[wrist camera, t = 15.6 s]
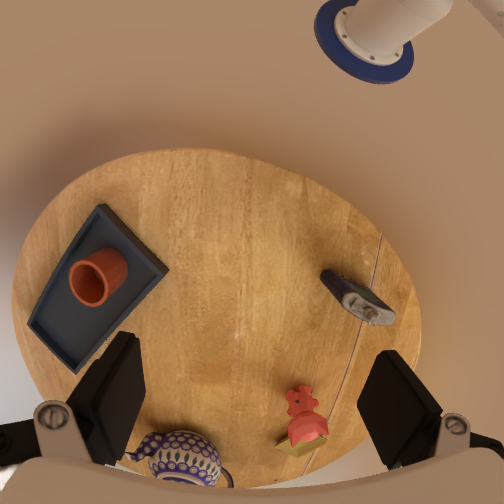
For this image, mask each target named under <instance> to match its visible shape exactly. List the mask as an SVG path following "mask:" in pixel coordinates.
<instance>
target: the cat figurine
mask: <svg viewBox="0 0 504 504" xmlns="http://www.w3.org/2000/svg"><path fill="white" fill-rule="evenodd" d="M298 391H299V393H297V392H296V391H294V390H293V389H291V390H289V391H288V392H287V395H286V400H287V401H288V402H289V409H288V411H287V413H288V414H289V416H290V417H294V418H293V419H292V420H291V421H290V423H289V425H288V436H289V440H290V444H291V448H293V447H294V446H295V445H296V444H297V443H298V442H299V441H301V440H302V441H312V440H314V439H315V438H316V437H317V436H318V435H319V434H326V435H329V432H328V427H327V421H326V419H325V418H324V417H322V416H321V415H319V414H317V413H315V412H313V408H314V406H315V407H316V408H317V407H318V405H319V403H318V400H317V399H313V398H312V396H311V395H310V394H311V393H312V388H310V387H307V386H303V385H300V386H299V387H298Z"/></svg>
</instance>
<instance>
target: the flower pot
mask: <svg viewBox="0 0 504 504" xmlns="http://www.w3.org/2000/svg"><path fill="white" fill-rule="evenodd" d="M127 276H128V266H127V263H126V260H125V258H124V257H123V255H122V254H121V253H120V252H119V251H117V250H115V249H113V248H110V247H105V248H102V249H100V250H97V251H95V252H94V253H92V254H90V255H88V256H86V257H84V258H83V259H81V260H79V261H77V262H76V263H75V264H74V265H73V266H72V267H71V269H70V273H69V284H70V287H71V290H72V292H73V294H74V295H75V296H76V298H77V299H78V300H79V301H80V302H82V303H83V304H85V305H87V306H91V307H96V306H99V305H101V304H102V303H103V302H105V301H106V300H107V299H108V298H109V297H110V296H111V295H112V294H113V293H114V292H115V291H116V290H117V289H118V288H119V287H120V286H121V285H122V284H123V283H124V282H125V281H126V279H127Z"/></svg>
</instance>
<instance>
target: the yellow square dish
mask: <svg viewBox="0 0 504 504" xmlns="http://www.w3.org/2000/svg"><path fill="white" fill-rule="evenodd" d="M327 442H328V440H327V439H325V438H323V437H321V436H319V435H318V436H317V437H316V438H315V439H314V440H312V441H302V440H301V441H299V442H298V443H297V444H296V445H295V446H294V447H293V448H291V444H290V440H289V436H287V437H286V438H284V439H282V440H280V441H279V442H278V443H277V444H276V445H275V446H274V447H275V448H276V449H278V450H280V451H282V452H285V453H287V454H289V455H291V456H293V457H296V458H299V457H302V456H303V455H305V454H307V453H309V452H311V451H313V450H315V449H317V448H318V447H320V446H322V445H324V444H326V443H327Z"/></svg>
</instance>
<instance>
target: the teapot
mask: <svg viewBox="0 0 504 504" xmlns="http://www.w3.org/2000/svg"><path fill="white" fill-rule="evenodd" d="M124 455H125V456H126V458H127V459H128V460H130V461H131V462H138V461H140V460H142V459H143V458H144V457H145V456H149V458H148V464H149V468H150V470H151V472H152V474H153V475H154V476H155V477H156V478H157V479H162V480H168V481H173V482H179V483H186V484H193V485H201V486H211V487H216V486H215V483H216V482H217V481H218V479H219V476H220V473H222V474H223V475H224V476H225V478H226V479H227V482H228V488H234V483H233V479H232V477H231V475H230V474H229V472H228V471H227V470H225V469H224V468H223V467H221V458H220V455H219V452H218V450H217V449H216V447H215V446H214V445H213V444H212V443H210V442H209V441H208V440H207V439H206V438H205V437H203V436H202V435H200V434H197V433H195V432H191V431H182V430H181V431H174V432H171V433H167V434H163V433H159V432H152V433H150V434H147V435H146V436H145V437H144V439H143V440H142V442H141V443H140V445H139V447H138V448H137V450H136V451H135V452H134V453H130V452H124Z"/></svg>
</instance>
